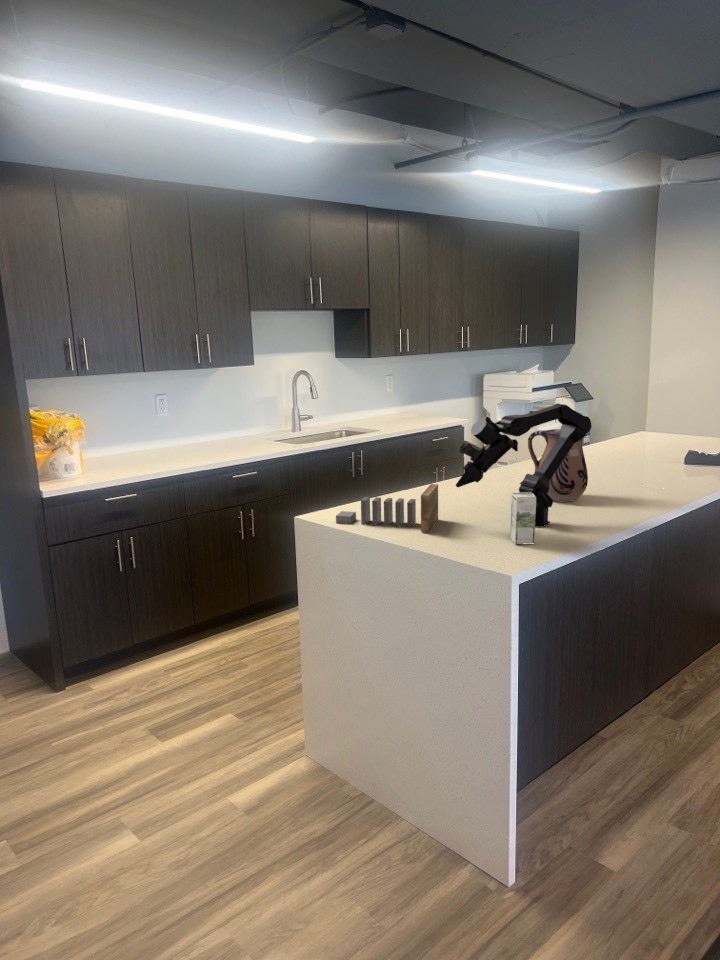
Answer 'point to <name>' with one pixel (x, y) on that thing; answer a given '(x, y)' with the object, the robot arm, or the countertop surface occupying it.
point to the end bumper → (345, 517)
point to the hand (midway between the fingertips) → (457, 485)
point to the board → (429, 508)
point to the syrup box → (523, 517)
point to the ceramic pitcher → (563, 468)
